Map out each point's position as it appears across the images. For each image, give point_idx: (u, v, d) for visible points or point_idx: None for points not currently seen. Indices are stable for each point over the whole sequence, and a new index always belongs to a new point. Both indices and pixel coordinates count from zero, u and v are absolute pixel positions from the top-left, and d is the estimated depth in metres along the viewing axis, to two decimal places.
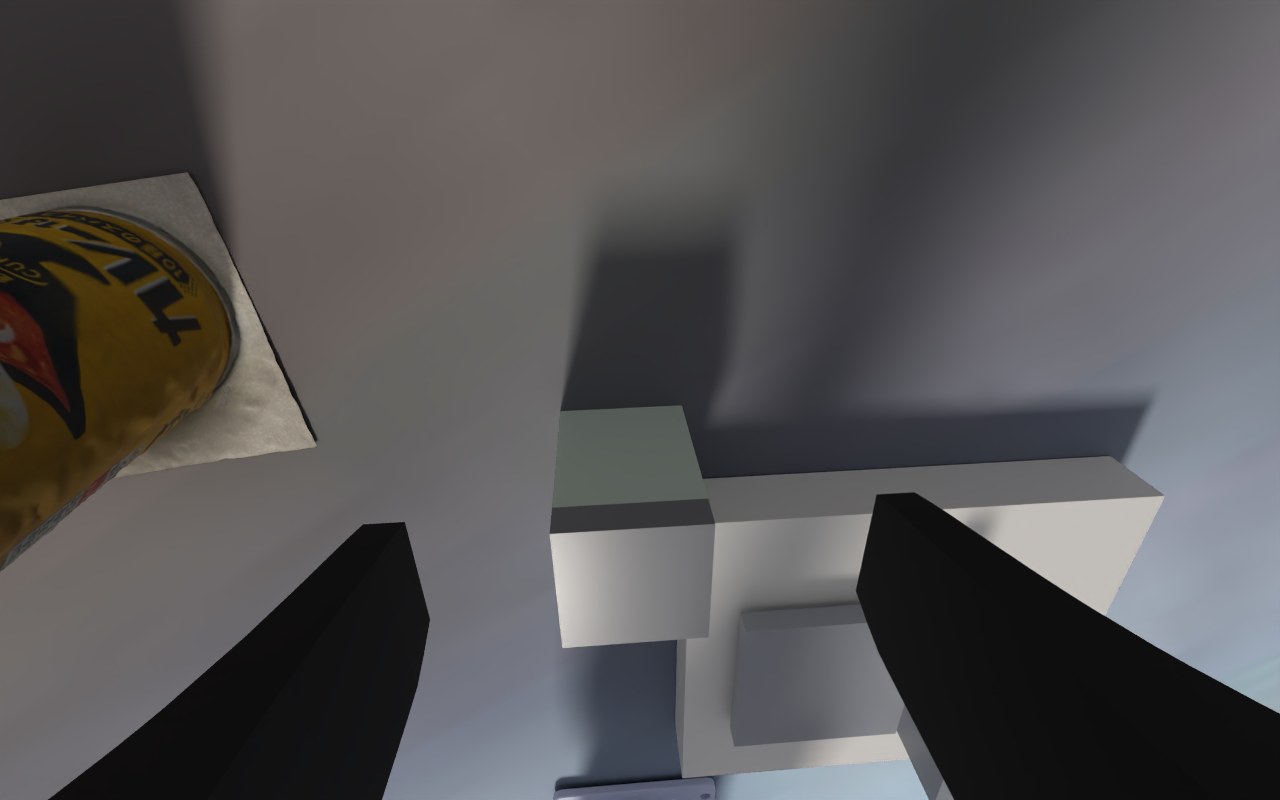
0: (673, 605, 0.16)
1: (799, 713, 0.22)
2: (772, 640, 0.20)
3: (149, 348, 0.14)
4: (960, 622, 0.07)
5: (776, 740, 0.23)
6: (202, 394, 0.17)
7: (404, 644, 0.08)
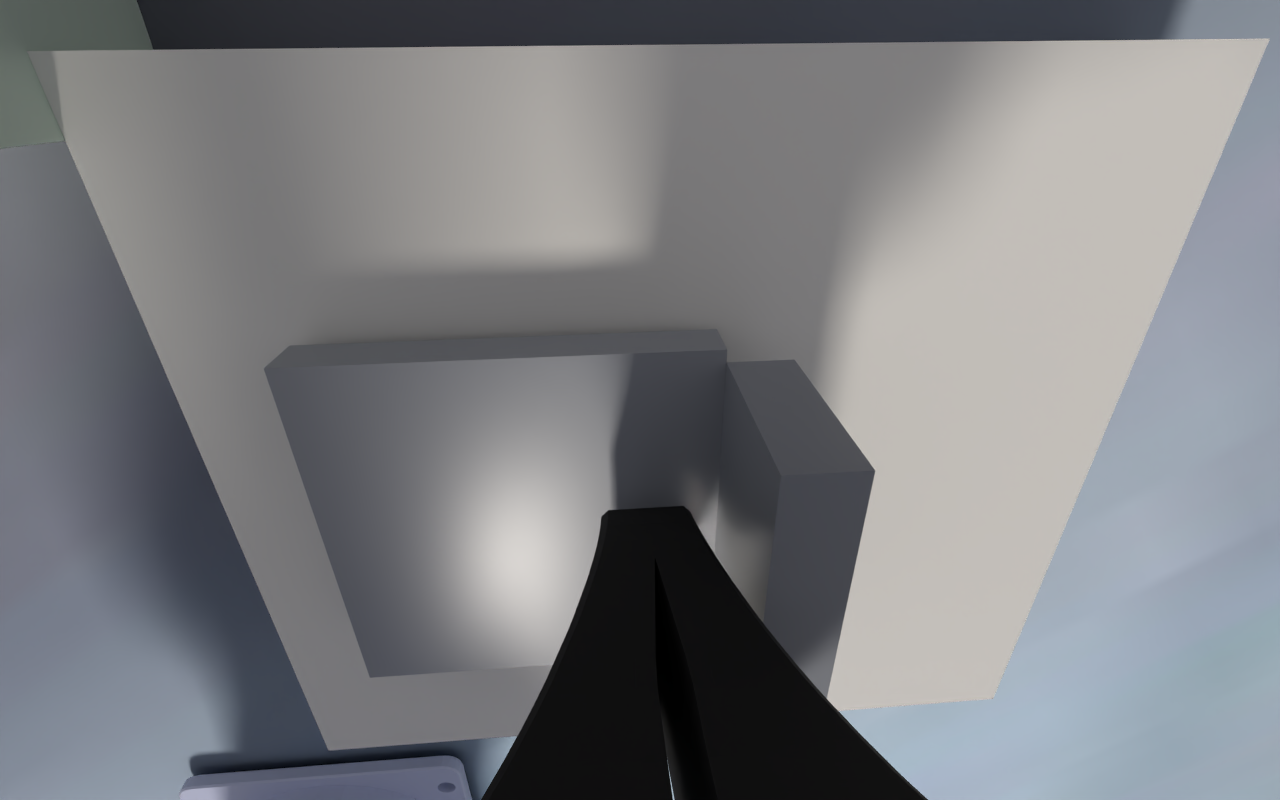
0: None
1: (484, 602, 0.10)
2: (345, 399, 0.08)
3: None
4: (668, 643, 0.07)
5: (456, 664, 0.11)
6: None
7: None
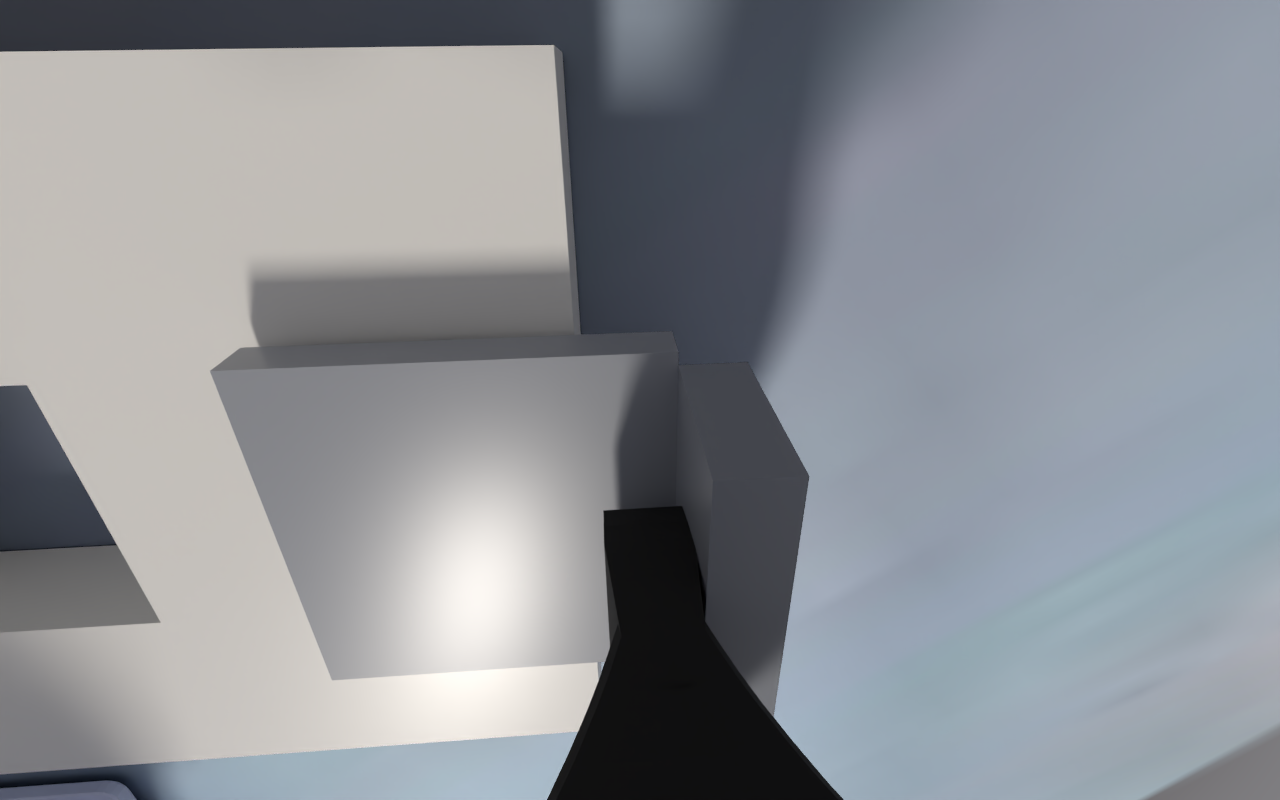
0: None
1: (444, 605, 0.10)
2: (293, 402, 0.08)
3: None
4: None
5: (419, 667, 0.11)
6: None
7: None
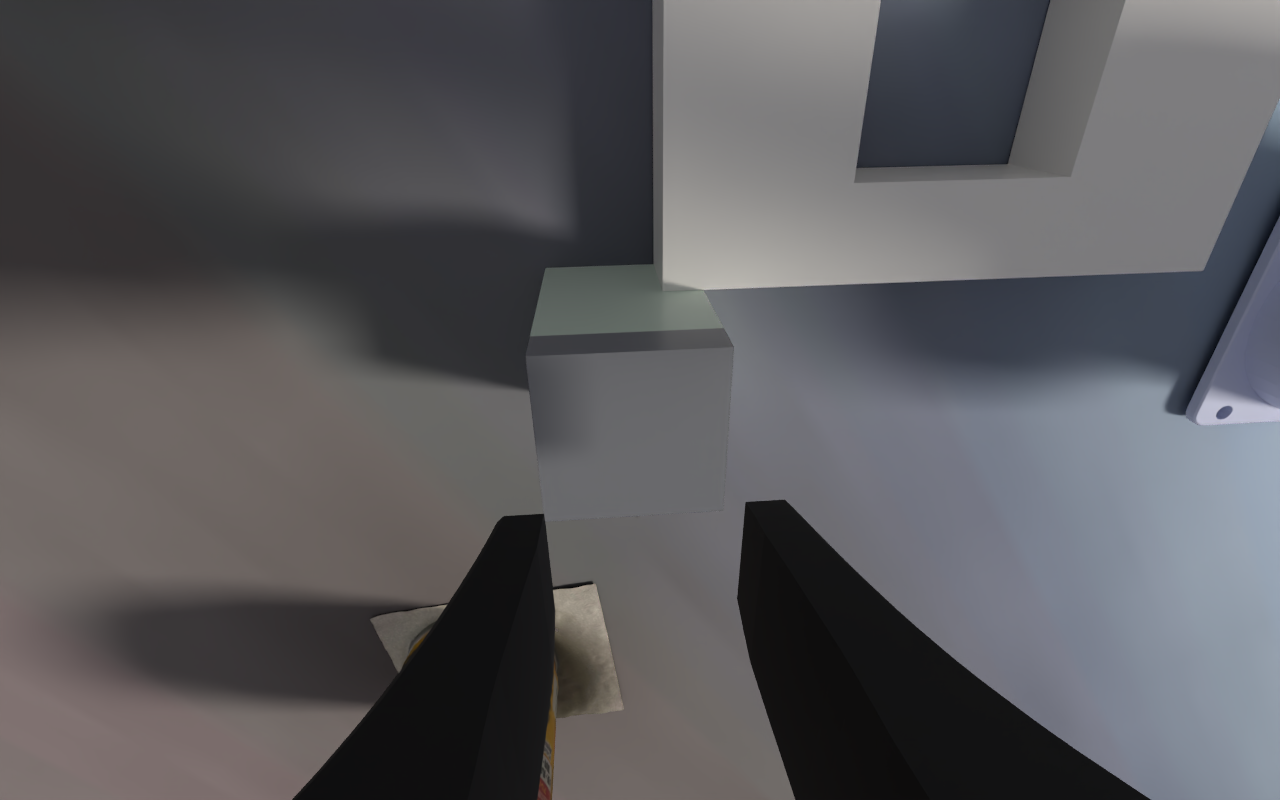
0: (665, 395, 0.12)
1: None
2: None
3: None
4: (796, 633, 0.07)
5: None
6: None
7: (547, 634, 0.09)
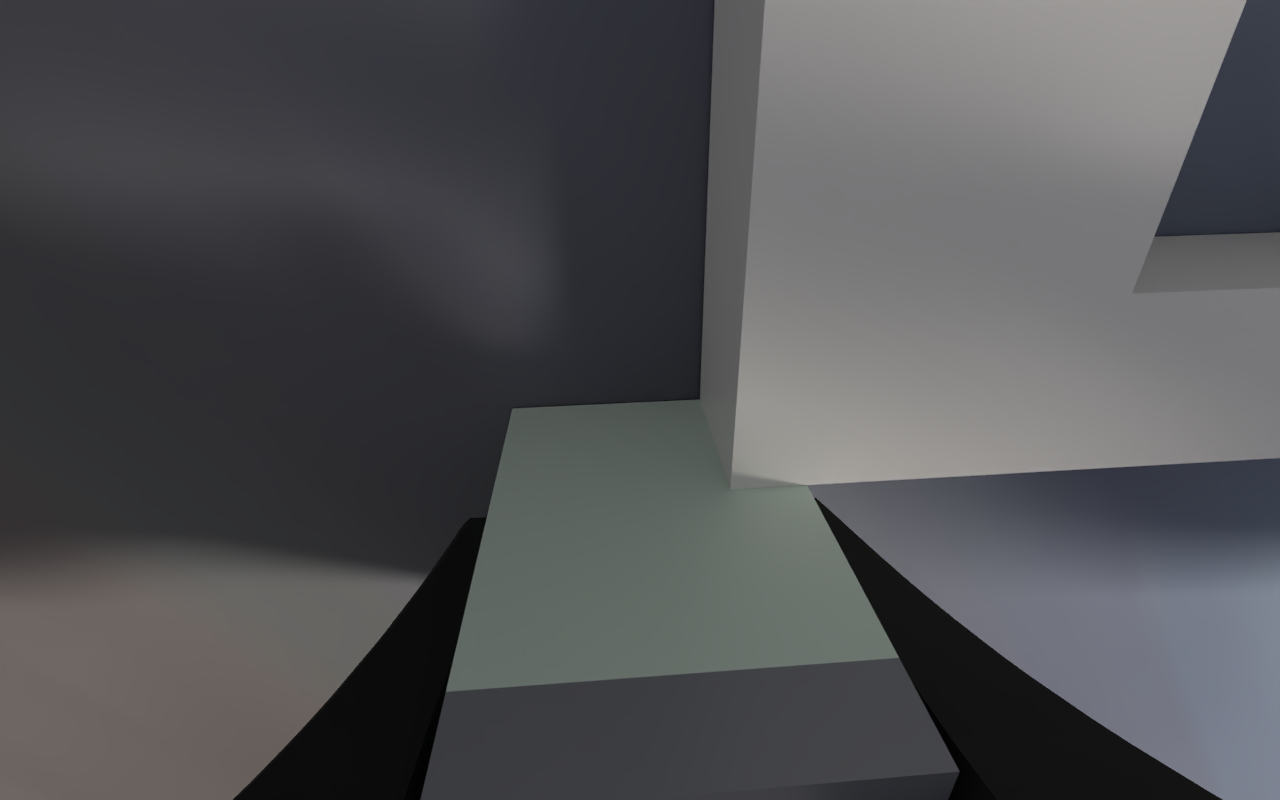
0: None
1: None
2: None
3: None
4: None
5: None
6: None
7: None
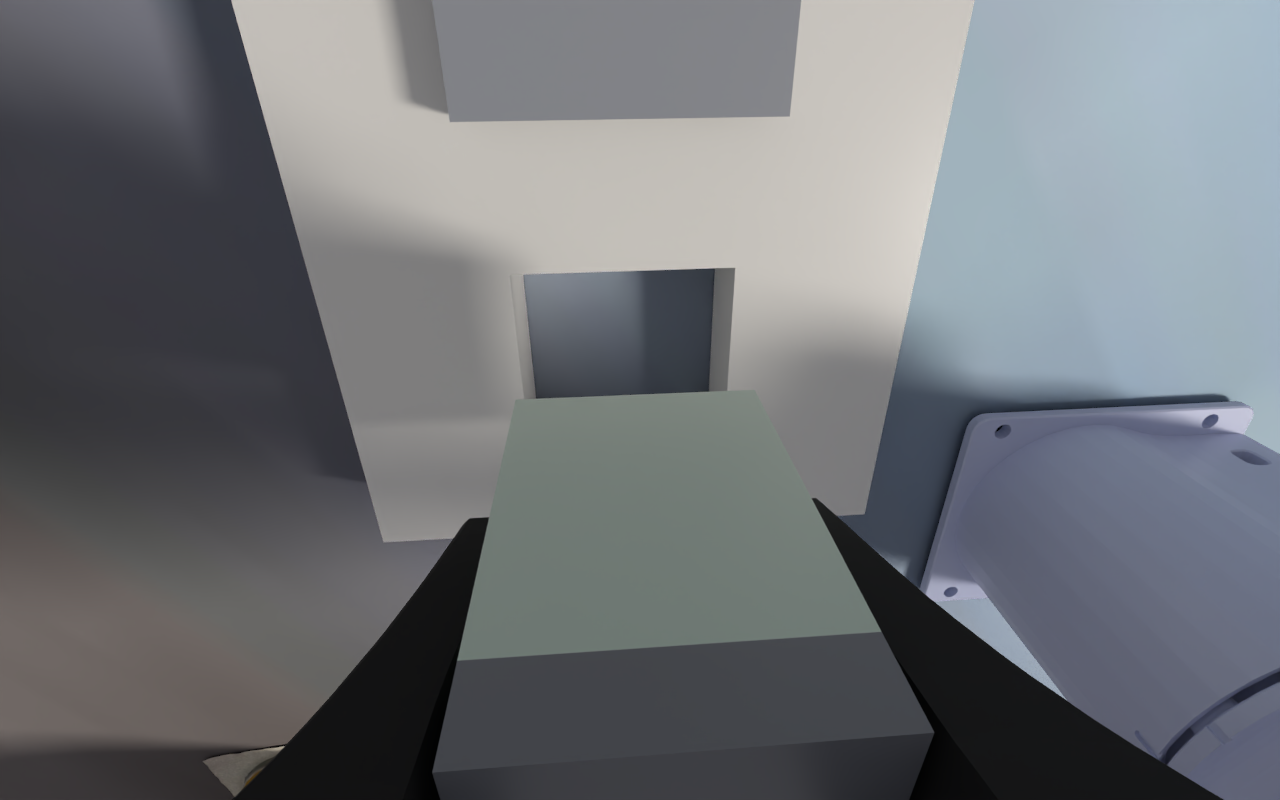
0: None
1: None
2: (471, 62, 0.11)
3: None
4: None
5: (789, 14, 0.11)
6: None
7: None
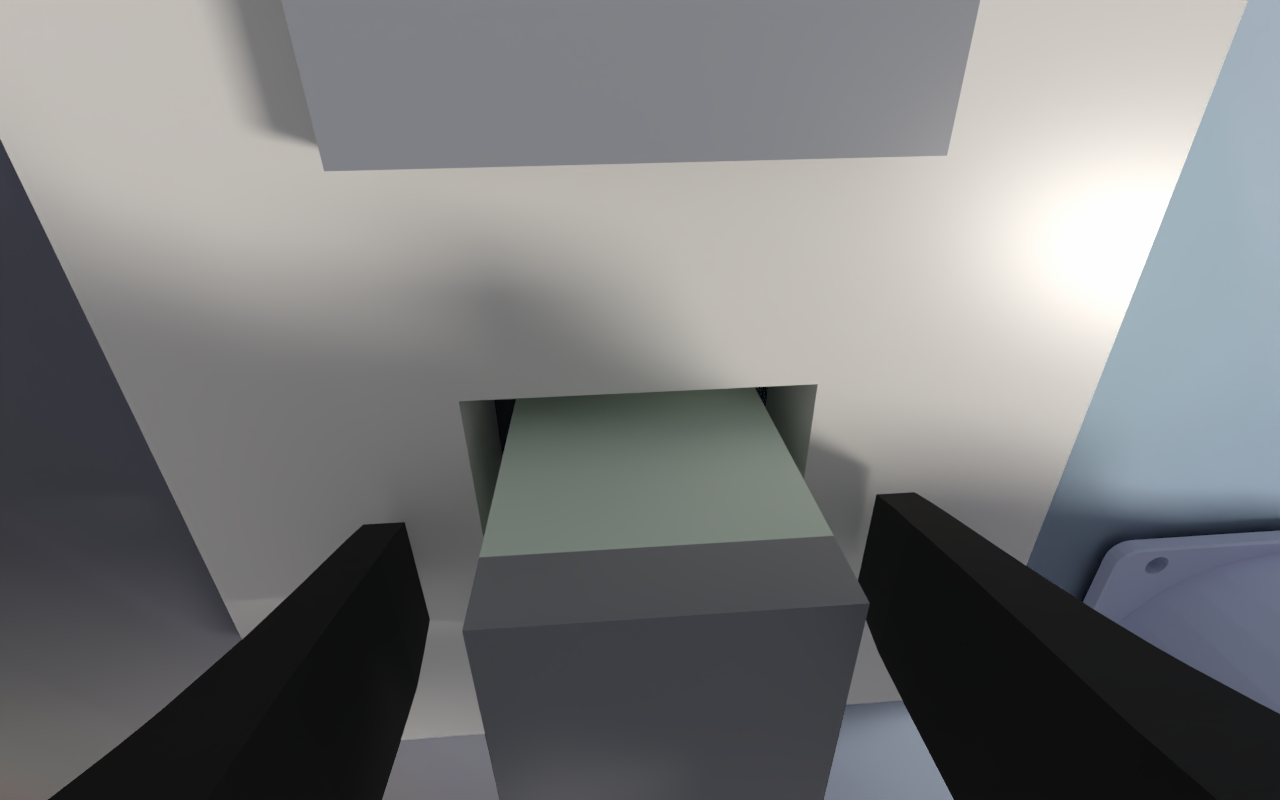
0: (732, 678, 0.06)
1: None
2: (356, 59, 0.06)
3: None
4: (960, 622, 0.07)
5: None
6: None
7: (404, 644, 0.08)
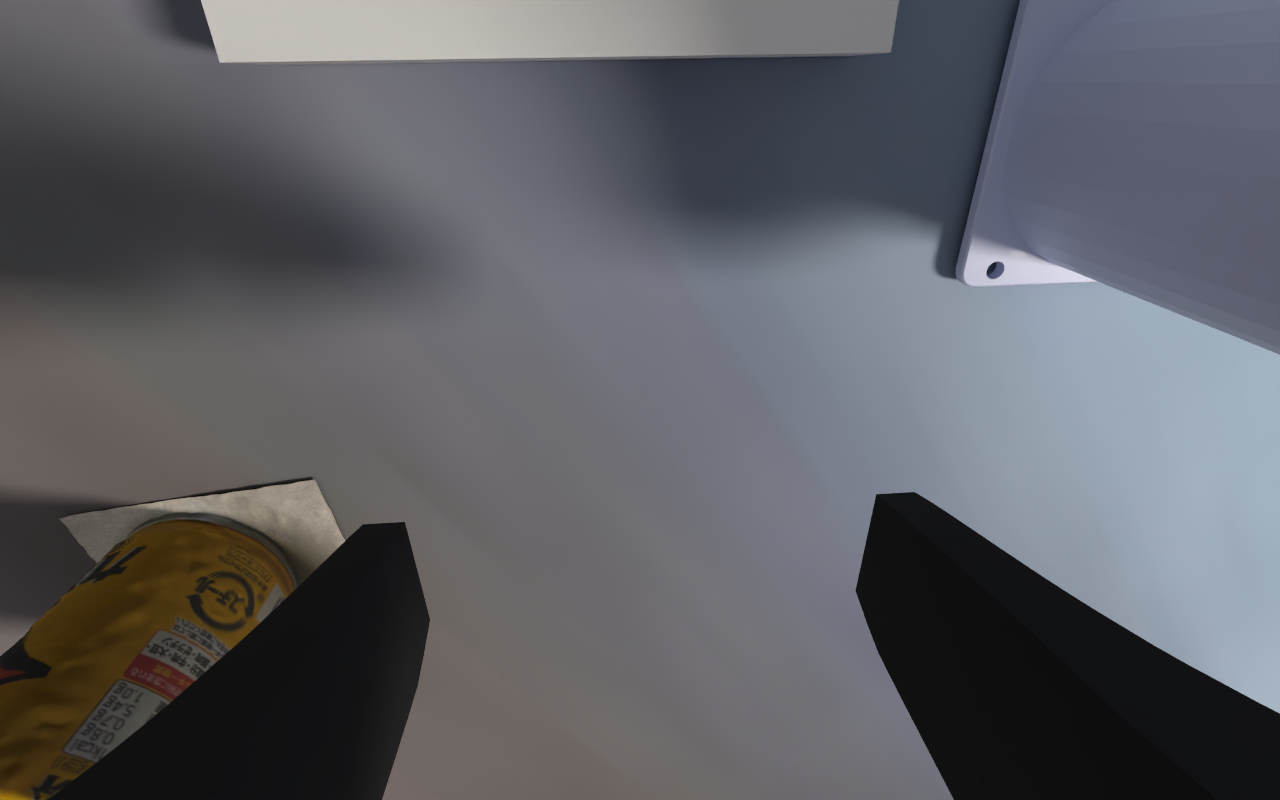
0: None
1: None
2: None
3: (93, 593, 0.17)
4: (960, 622, 0.07)
5: None
6: (217, 557, 0.19)
7: (404, 644, 0.08)
